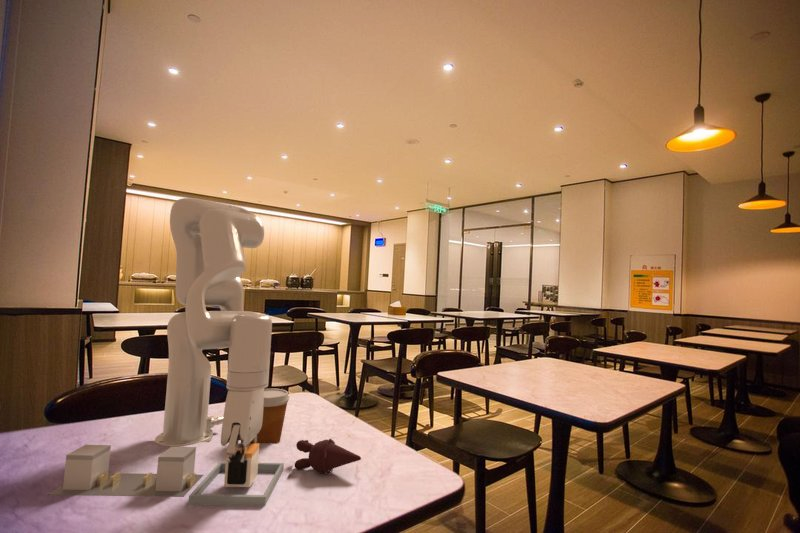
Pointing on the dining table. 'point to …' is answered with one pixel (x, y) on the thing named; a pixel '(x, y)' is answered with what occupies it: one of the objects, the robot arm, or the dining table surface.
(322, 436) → the dining table surface
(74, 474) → the fuse
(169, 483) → the block
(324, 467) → the icecream
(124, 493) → the fuse panel
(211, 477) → the tray
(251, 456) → the block
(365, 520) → the dining table surface
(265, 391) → the disposable coffee cup
